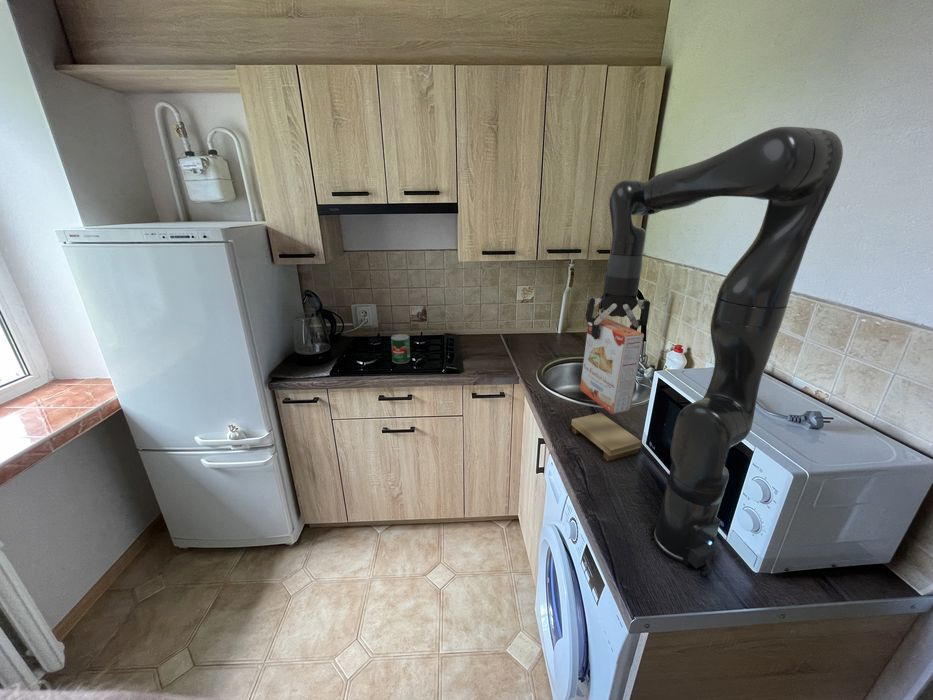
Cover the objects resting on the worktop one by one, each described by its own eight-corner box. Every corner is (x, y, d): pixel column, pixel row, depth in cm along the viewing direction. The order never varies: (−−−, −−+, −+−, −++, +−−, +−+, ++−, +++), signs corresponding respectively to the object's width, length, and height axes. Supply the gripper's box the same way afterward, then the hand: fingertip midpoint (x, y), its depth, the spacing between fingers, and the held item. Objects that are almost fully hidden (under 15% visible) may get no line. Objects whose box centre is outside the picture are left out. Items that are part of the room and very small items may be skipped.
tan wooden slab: (639, 453, 107) (642, 441, 106) (609, 462, 103) (611, 450, 102) (598, 423, 122) (600, 412, 121) (570, 430, 118) (571, 419, 117)
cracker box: (578, 390, 106) (587, 318, 99) (596, 387, 108) (607, 316, 101) (610, 415, 94) (624, 335, 86) (631, 411, 96) (645, 332, 88)
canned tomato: (393, 364, 165) (392, 340, 161) (391, 358, 172) (389, 334, 168) (411, 362, 167) (410, 338, 163) (408, 356, 174) (407, 333, 170)
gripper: (593, 275, 87) (584, 342, 92) (660, 278, 84) (646, 346, 90) (589, 270, 94) (581, 333, 99) (650, 272, 91) (638, 336, 97)
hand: (612, 339), depth 95 cm, fingers closed on cracker box, 8 cm apart
